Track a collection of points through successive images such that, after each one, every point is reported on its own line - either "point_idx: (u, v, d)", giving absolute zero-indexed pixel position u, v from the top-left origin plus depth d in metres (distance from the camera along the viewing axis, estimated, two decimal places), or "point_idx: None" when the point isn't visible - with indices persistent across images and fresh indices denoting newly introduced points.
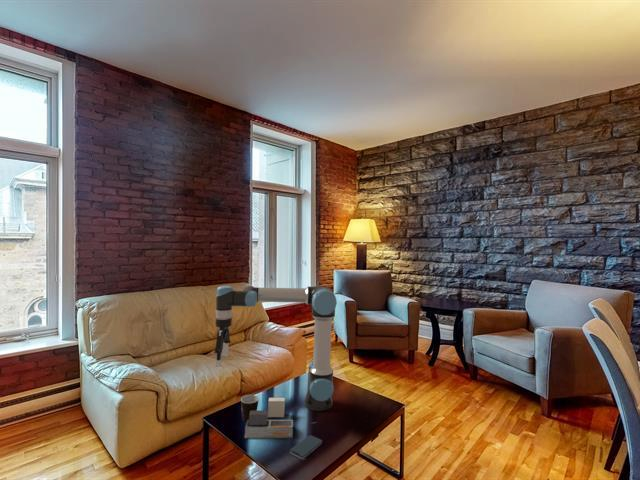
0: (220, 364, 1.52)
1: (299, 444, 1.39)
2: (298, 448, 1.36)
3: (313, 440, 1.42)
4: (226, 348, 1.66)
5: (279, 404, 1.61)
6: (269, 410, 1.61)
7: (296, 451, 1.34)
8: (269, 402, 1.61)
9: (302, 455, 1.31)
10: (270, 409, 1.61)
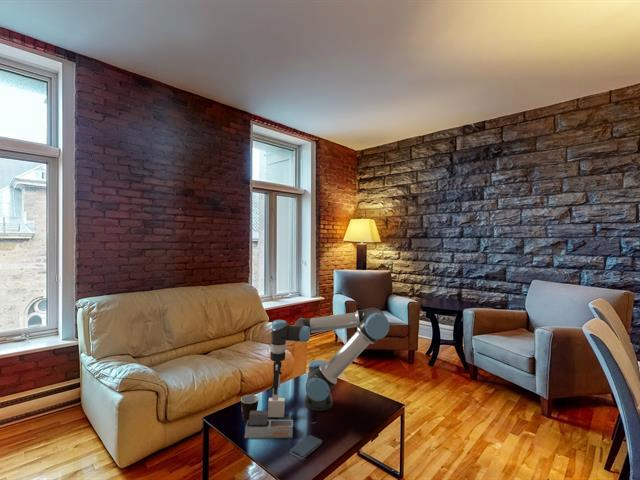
0: (276, 398, 1.56)
1: (299, 444, 1.39)
2: (298, 448, 1.36)
3: (313, 440, 1.42)
4: None
5: (279, 404, 1.61)
6: (269, 410, 1.61)
7: (296, 451, 1.34)
8: (269, 402, 1.61)
9: (302, 455, 1.31)
10: (270, 409, 1.61)
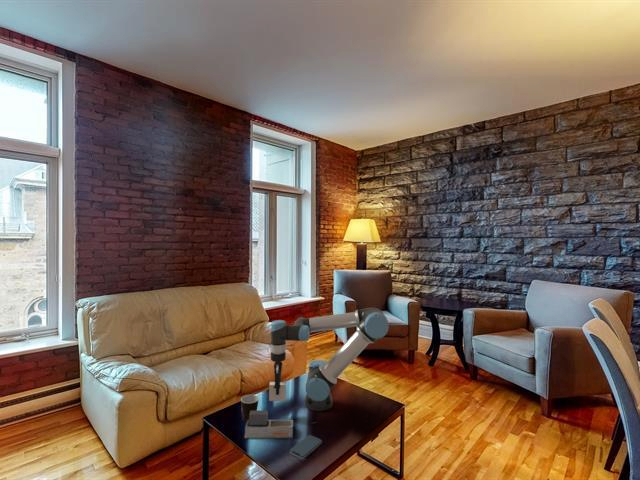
0: (279, 398, 1.61)
1: (299, 444, 1.39)
2: (298, 448, 1.36)
3: (313, 439, 1.42)
4: None
5: (280, 388, 1.61)
6: (270, 394, 1.61)
7: (296, 451, 1.34)
8: (270, 386, 1.61)
9: (302, 455, 1.31)
10: (271, 392, 1.61)
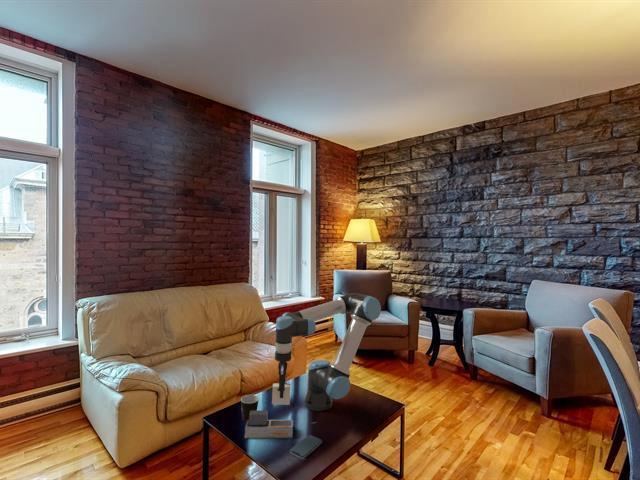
0: (283, 402, 1.46)
1: (299, 444, 1.39)
2: (298, 448, 1.36)
3: (313, 439, 1.43)
4: None
5: (285, 391, 1.47)
6: (273, 397, 1.47)
7: (296, 451, 1.34)
8: (273, 388, 1.47)
9: (302, 455, 1.31)
10: (274, 395, 1.47)
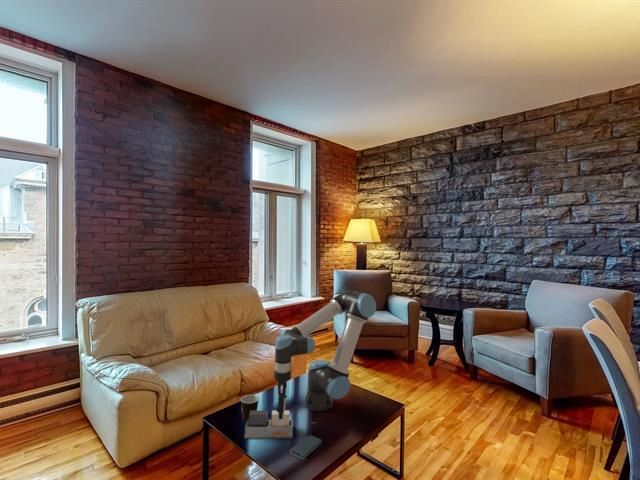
0: (282, 423, 1.43)
1: (299, 444, 1.39)
2: (298, 448, 1.36)
3: (313, 439, 1.43)
4: None
5: (284, 418, 1.47)
6: (273, 424, 1.47)
7: (296, 451, 1.34)
8: (273, 415, 1.47)
9: (302, 455, 1.31)
10: (274, 423, 1.47)
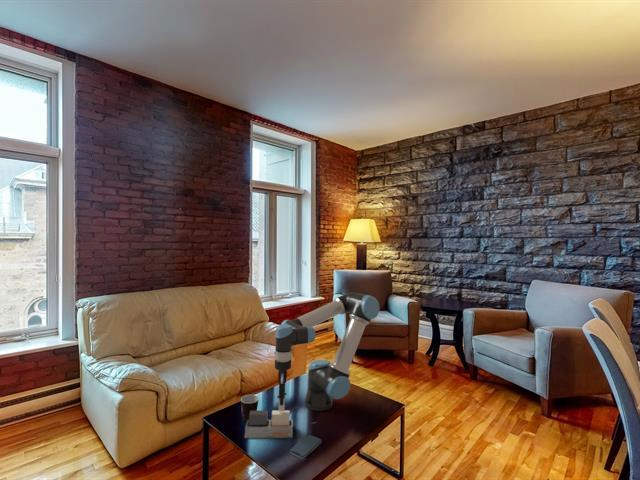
0: (283, 409, 1.48)
1: (299, 444, 1.39)
2: (298, 448, 1.36)
3: (312, 439, 1.43)
4: None
5: (284, 418, 1.47)
6: (273, 424, 1.47)
7: (296, 451, 1.34)
8: (273, 415, 1.47)
9: (302, 455, 1.32)
10: (274, 423, 1.47)
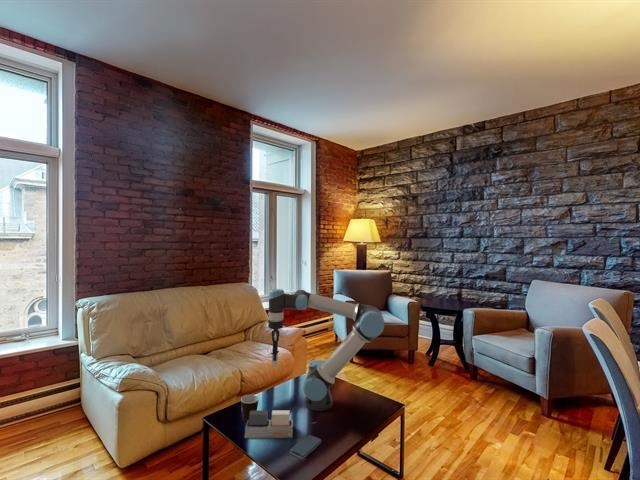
0: (276, 364, 1.64)
1: (299, 444, 1.39)
2: (298, 448, 1.36)
3: (312, 439, 1.43)
4: None
5: (284, 418, 1.47)
6: (273, 424, 1.47)
7: (296, 451, 1.34)
8: (273, 415, 1.47)
9: (302, 455, 1.32)
10: (274, 423, 1.47)
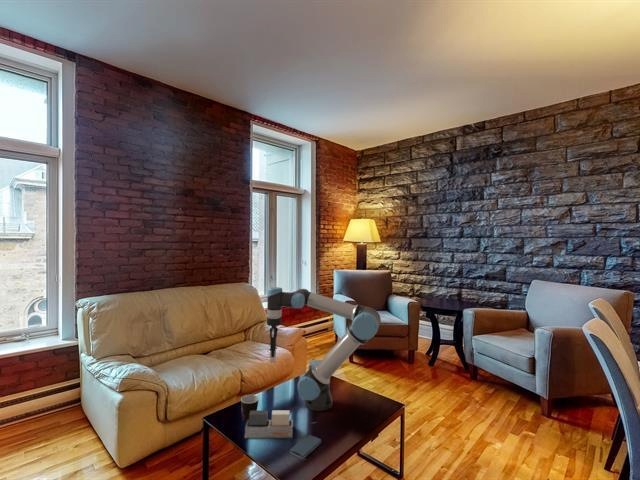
0: (274, 360, 1.68)
1: (299, 444, 1.39)
2: (298, 448, 1.36)
3: (312, 439, 1.43)
4: None
5: (284, 418, 1.47)
6: (273, 424, 1.47)
7: (296, 451, 1.34)
8: (273, 415, 1.47)
9: (302, 455, 1.32)
10: (274, 423, 1.47)
